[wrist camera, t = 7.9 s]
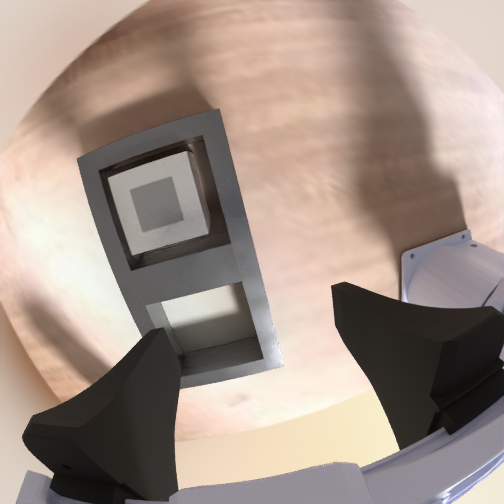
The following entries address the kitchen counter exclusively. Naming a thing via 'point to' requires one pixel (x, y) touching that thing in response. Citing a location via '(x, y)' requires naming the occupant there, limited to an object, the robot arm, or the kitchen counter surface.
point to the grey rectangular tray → (185, 251)
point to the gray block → (161, 202)
